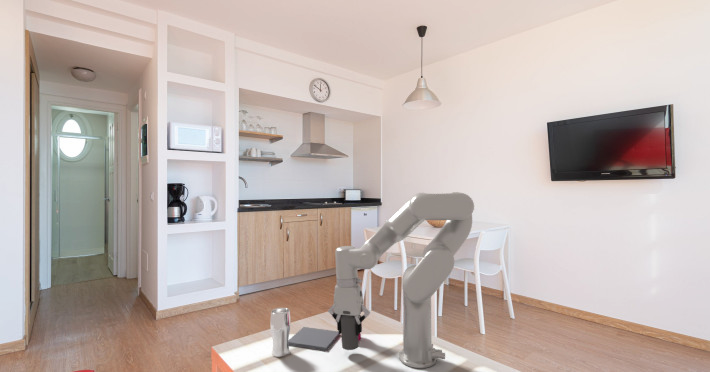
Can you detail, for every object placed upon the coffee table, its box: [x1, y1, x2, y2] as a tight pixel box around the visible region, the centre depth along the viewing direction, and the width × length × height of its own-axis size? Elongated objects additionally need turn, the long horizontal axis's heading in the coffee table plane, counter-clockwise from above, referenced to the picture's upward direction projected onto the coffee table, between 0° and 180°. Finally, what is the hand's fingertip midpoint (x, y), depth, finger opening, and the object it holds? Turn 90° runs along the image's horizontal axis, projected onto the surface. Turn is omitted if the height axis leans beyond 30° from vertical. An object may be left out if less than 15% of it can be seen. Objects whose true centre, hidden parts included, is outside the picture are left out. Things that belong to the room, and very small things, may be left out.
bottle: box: [340, 311, 359, 351], centre depth 119 cm, size 6×6×15 cm
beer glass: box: [269, 307, 291, 358], centre depth 121 cm, size 7×7×15 cm
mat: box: [288, 326, 341, 352], centre depth 131 cm, size 16×14×1 cm
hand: (349, 332), depth 119 cm, fingers closed on bottle, 5 cm apart
